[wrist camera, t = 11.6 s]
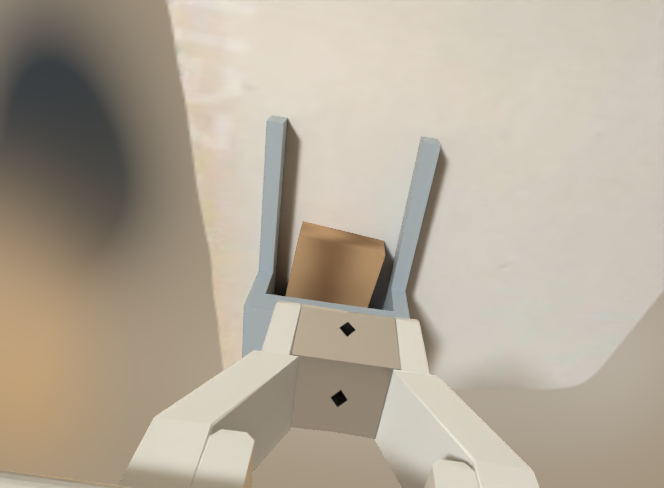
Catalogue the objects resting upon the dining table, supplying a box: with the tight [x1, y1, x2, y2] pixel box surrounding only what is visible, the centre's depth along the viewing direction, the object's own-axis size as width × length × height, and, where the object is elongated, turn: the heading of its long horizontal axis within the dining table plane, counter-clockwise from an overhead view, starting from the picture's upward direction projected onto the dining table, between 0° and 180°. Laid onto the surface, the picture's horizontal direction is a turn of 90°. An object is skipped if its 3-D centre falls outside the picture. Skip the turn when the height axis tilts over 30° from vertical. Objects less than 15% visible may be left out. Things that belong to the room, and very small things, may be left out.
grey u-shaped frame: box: [242, 116, 441, 358], centre depth 34 cm, size 12×20×7 cm, turn 173°
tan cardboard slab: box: [286, 222, 385, 308], centre depth 37 cm, size 7×10×3 cm
